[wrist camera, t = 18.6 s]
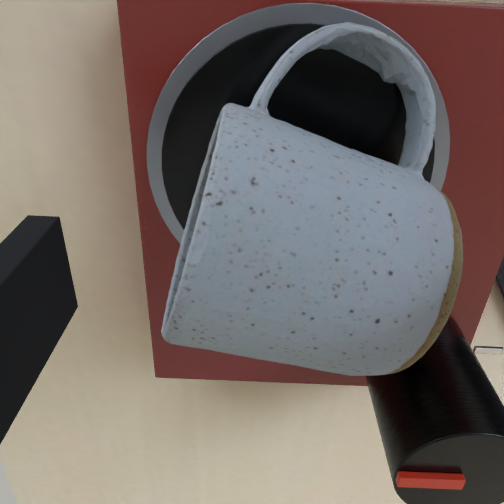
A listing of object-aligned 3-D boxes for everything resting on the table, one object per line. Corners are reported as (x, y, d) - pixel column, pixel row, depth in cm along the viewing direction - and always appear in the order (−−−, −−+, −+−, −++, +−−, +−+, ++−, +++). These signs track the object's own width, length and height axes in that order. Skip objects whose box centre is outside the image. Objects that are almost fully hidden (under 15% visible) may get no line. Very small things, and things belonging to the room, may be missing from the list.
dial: (474, 309, 22) (560, 444, 15) (447, 383, 24) (511, 526, 18) (368, 304, 22) (412, 438, 15) (352, 380, 24) (384, 520, 18)
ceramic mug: (352, 301, 21) (395, 447, 14) (177, 254, 20) (137, 390, 13) (474, 64, 16) (630, 121, 9) (248, -16, 15) (240, -17, 8)
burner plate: (488, 10, 15) (493, 10, 15) (411, 295, 21) (413, 300, 21) (133, -6, 15) (130, -5, 15) (158, 285, 21) (156, 290, 21)
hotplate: (590, 7, 18) (648, 13, 15) (455, 371, 28) (476, 413, 25) (136, -12, 18) (114, -9, 15) (167, 359, 28) (156, 400, 25)
